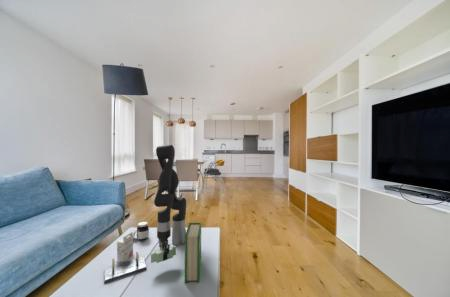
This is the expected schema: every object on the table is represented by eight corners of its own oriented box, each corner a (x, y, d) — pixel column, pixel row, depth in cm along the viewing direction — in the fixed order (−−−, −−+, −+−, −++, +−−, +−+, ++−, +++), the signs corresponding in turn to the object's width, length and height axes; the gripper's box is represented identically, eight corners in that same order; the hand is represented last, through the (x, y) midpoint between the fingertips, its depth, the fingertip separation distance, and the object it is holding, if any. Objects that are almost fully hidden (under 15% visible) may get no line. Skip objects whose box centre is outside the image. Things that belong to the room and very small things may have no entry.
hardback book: (199, 282, 94) (199, 235, 95) (184, 283, 94) (185, 236, 94) (200, 261, 112) (201, 222, 112) (188, 262, 111) (189, 222, 112)
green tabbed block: (174, 252, 111) (174, 244, 111) (176, 256, 108) (176, 247, 108) (150, 260, 103) (150, 251, 103) (152, 264, 100) (152, 255, 100)
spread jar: (150, 239, 140) (150, 223, 140) (134, 244, 132) (134, 228, 133) (144, 233, 149) (144, 219, 149) (129, 238, 141) (129, 223, 141)
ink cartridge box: (126, 253, 120) (126, 230, 121) (133, 254, 119) (133, 231, 120) (116, 260, 112) (116, 236, 112) (123, 261, 111) (123, 237, 111)
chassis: (142, 259, 114) (142, 246, 114) (146, 269, 104) (146, 256, 104) (104, 270, 103) (104, 257, 103) (104, 283, 93) (104, 268, 93)
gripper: (174, 231, 102) (174, 261, 102) (166, 222, 114) (166, 250, 114) (160, 234, 98) (160, 266, 98) (154, 225, 109) (154, 254, 109)
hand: (163, 257), depth 106 cm, fingers closed on green tabbed block, 4 cm apart
